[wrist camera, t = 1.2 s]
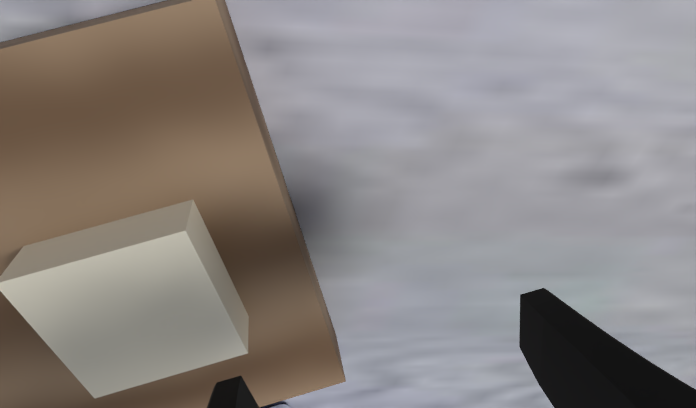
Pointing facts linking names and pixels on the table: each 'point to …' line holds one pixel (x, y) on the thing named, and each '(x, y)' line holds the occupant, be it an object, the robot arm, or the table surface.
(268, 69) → the table surface
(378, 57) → the table surface
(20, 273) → the tile
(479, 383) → the table surface
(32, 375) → the drawer casing
